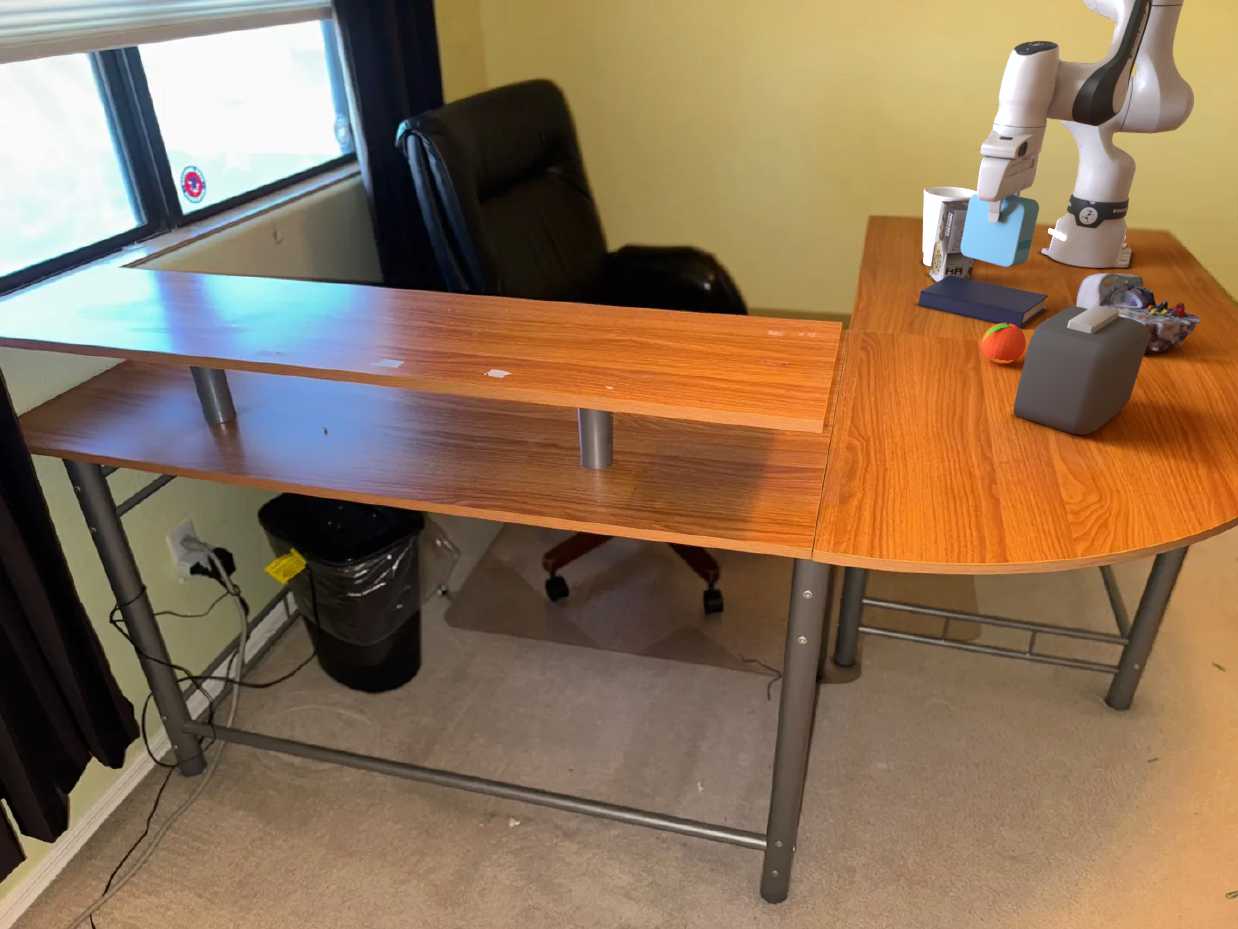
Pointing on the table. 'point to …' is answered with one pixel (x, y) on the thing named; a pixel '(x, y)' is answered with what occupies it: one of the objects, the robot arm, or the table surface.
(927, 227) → the cup
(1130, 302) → the cell model
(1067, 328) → the alarm clock
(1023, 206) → the data package
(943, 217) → the coffee box
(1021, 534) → the table surface
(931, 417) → the table surface
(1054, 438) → the table surface
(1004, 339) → the clementine
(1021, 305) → the book
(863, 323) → the table surface
